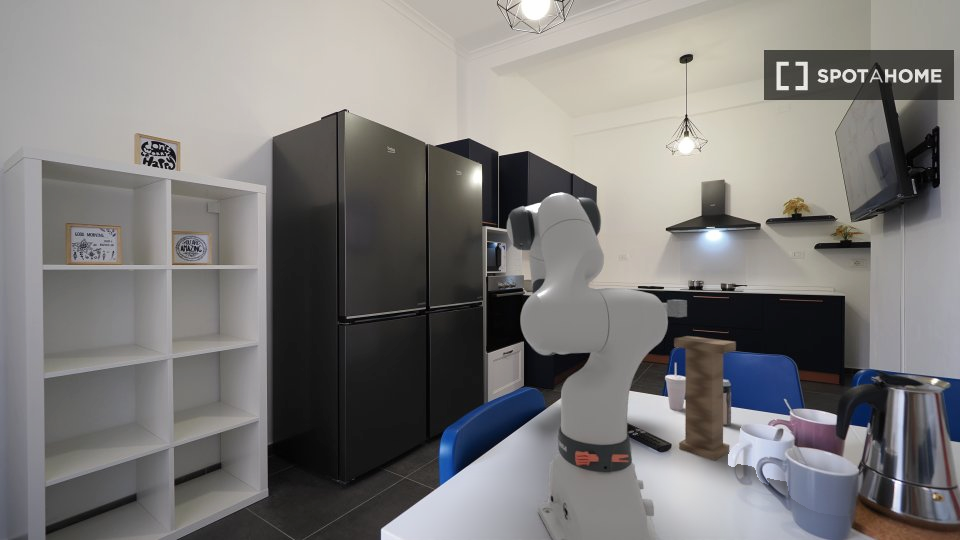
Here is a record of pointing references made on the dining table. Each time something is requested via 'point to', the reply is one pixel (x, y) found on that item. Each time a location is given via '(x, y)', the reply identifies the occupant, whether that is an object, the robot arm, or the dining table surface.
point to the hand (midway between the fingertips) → (628, 304)
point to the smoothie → (676, 390)
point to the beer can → (726, 402)
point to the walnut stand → (704, 395)
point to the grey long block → (676, 308)
